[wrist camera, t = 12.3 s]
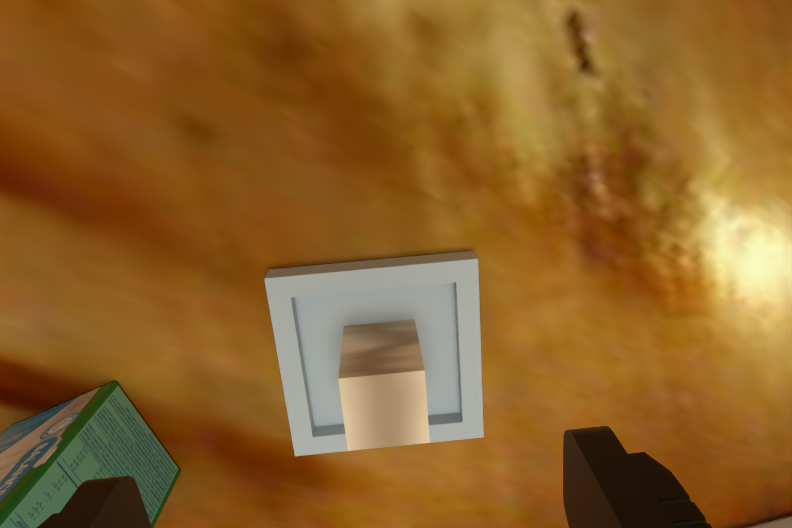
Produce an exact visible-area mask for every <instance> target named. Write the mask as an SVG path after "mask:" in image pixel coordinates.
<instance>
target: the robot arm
mask: <svg viewBox="0 0 792 528" xmlns="http://www.w3.org/2000/svg"><path fill="white" fill-rule="evenodd" d="M563 498H564V507H565V512H566V517H567V521H568V524H569V527H570V528H712V527H711V525H710V524H707V523H706V520H705V517H704V516H703V514H702V513H701V512H700V510H699V509H698V508H697V506H696V505H695V503H694V502H691V501H690V497H689V495H688V494H687V493H686V491H685V490H684V489H683V487H682V486H681V484H680V483H679V482H678V480H677V479H676V478H675V476H674V475H673V474H672V472H671V471H669V470H668V469H667V468H665V467H664V466H662V465H661V464H660V463H658V462H657V461H656V460H654V459H653V458H651V457H650V456H649V455H647V454H646V453H645V452H641V453H632V454H627V452H626V451H625V449H624V448H623V446H622V445H621V443H620V442H619V440H618V439H617V437H616V436H615V434H614V433H613V431H612V430H611V429H610V428H609V427H608V426H601V427H591V428H582V429H573V430H566V431H565V433H564V446H563ZM37 528H152V526H151V523H150V520H149V517H148V514H147V511H146V508H145V506H144V503H143V500H142V497H141V494H140V491H139V488H138V485H137V483H136V481H135V480H134V478H133V477H131V476H120V477H111V478H101V479H92V480H86V481H85V482H83V483H82V484H81V485H80V486H79V487H78V488H77V490H76V491H75V492H74V494H73V495H72V496H71V498H70V499H69V501H68V502H67V503H66V505H65V506H64V507H63V509H62V510H61V512H60V513H54V514H52V515H51V516H50V517H49V518H47V519H46V520H45V521H44V522H43V523H41V524H40V525H39V526H38V527H37Z"/></svg>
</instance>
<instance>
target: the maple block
mask: <svg viewBox="0 0 792 528" xmlns="http://www.w3.org/2000/svg"><path fill="white" fill-rule="evenodd" d="M338 381H339V388H340V396H341V403H342V411H343V419H344V426H345V434H346V441H347V449H348V451H350V450H360V449H370V448H380V447H390V446H401V445H411V444H421V443H430V438H429V423H428V409H427V395H426V381H425V369H424V364H423V359H422V354H421V349H420V344H419V339H418V334H417V329H416V324H415V319H413V320H403V321H392V322H381V323H371V324H360V325H349V326H344V327H343V337H342V347H341V357H340V366H339V376H338Z"/></svg>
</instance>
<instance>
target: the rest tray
mask: <svg viewBox="0 0 792 528" xmlns="http://www.w3.org/2000/svg"><path fill="white" fill-rule="evenodd" d="M264 280H265V286H266V291H267V297H268V303H269V309H270V315H271V320H272V326H273V332H274V338H275V343H276V349H277V355H278V361H279V367H280V372H281V378H282V384H283V390H284V395H285V401H286V407H287V413H288V418H289V424H290V430H291V436H292V442H293V447H294V453H295V456H302V455H312V454H322V453H331V452H341V451H348V449H347V441H346V434H345V426H344V419H343V411H342V403H341V396H340V388H339V381H338V376H339V366H340V357H341V347H342V337H343V327H344V326H349V325H360V324H371V323H381V322H392V321H403V320H413V319H415V324H416V329H417V334H418V339H419V344H420V349H421V354H422V359H423V364H424V369H425V381H426V395H427V409H428V423H429V438H430V443H431V442H441V441H451V440H461V439H471V438H481V437H484V434H483V402H482V370H481V338H480V306H479V275H478V258H477V256H476V255H475V253H474V252H473V251H463V252H453V253H442V254H431V255H420V256H409V257H398V258H388V259H377V260H366V261H355V262H344V263H334V264H323V265H312V266H301V267H290V268H280V269H269V271H268V273H267V274H266V276H265V278H264ZM390 447H391V446H390ZM380 448H381V447H380ZM370 449H371V448H370ZM360 450H361V449H360ZM350 451H351V450H350Z"/></svg>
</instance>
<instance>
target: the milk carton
mask: <svg viewBox="0 0 792 528" xmlns="http://www.w3.org/2000/svg"><path fill="white" fill-rule="evenodd" d="M180 472H181V471H180V470H179V468H178V467H177V466H176V464H175V463H174V462H173V460H172V459H171V457H170V456H169V455H168V453H167V452H166V450H165V449H164V448H163V446H162V445H161V444H160V442H159V441H158V439H157V438H156V437H155V435H154V434H153V432H152V431H151V430H150V428H149V427H148V426H147V424H146V423H145V421H144V420H143V419H142V417H141V416H140V414H139V413H138V412H137V410H136V409H135V407H134V406H133V405H132V403H131V402H130V401H129V399H128V398H127V396H126V395H125V394H124V392H123V391H122V389H121V388H120V387H119V385H118V384H117V383H116V381H113V382H111V383H108V384H106V385H104V386H102V387H99V388H97V389H95V390H92V391H90V392H88V393H85V394H83V395H81V396H79V397H76V398H74V399H72V400H69V401H67V402H65V403H62V404H60V405H58V406H56V407H53V408H51V409H49V410H46V411H44V412H42V413H39V414H37V415H35V416H33V417H30V418H28V419H26V420H23V421H21V422H19V423H16V424H14V425H12V426H10V427H9V428H8V429H7V430H6V431H5V432H4V433H3V434H1V435H0V528H37V527H38V526H39V525H40V524H41V523H43V522H44V521H45V520H46V519H47V518H49V517H50V516H51V515H52V514H54V513H60V512H61V510H62V509H63V507H64V506H65V505H66V503H67V502H68V501H69V499H70V498H71V496H72V495H73V494H74V492H75V491H76V490H77V488H78V487H79V486H80V485H81V484H82V483H83V482H85V481H86V480H92V479H101V478H111V477H120V476H131V477H133V478H134V480H135V481H136V483H137V485H138V488H139V491H140V494H141V497H142V500H143V503H144V506H145V508H146V511H147V514H148V517H149V520H150V523H151V526H152V528H154V526H155V524H156V521H157V519H158V517H159V515H160V513H161V511H162V509H163V507H164V505H165V503H166V501H167V499H168V497H169V495H170V493H171V491H172V489H173V487H174V485H175V482H176V480H177V478H178V476H179V474H180Z"/></svg>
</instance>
